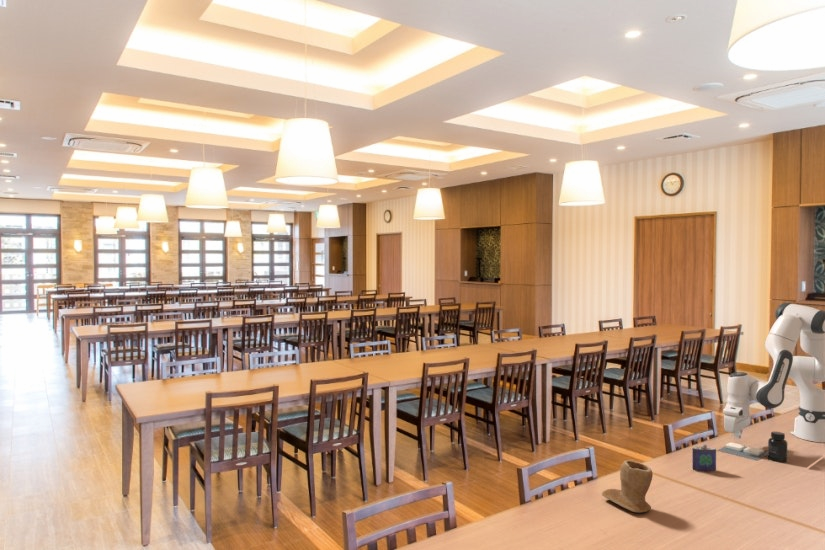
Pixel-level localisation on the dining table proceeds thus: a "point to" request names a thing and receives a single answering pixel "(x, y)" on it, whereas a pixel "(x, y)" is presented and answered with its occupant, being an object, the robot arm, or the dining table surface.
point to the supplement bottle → (777, 447)
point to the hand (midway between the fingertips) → (737, 438)
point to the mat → (743, 454)
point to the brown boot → (632, 487)
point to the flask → (704, 458)
